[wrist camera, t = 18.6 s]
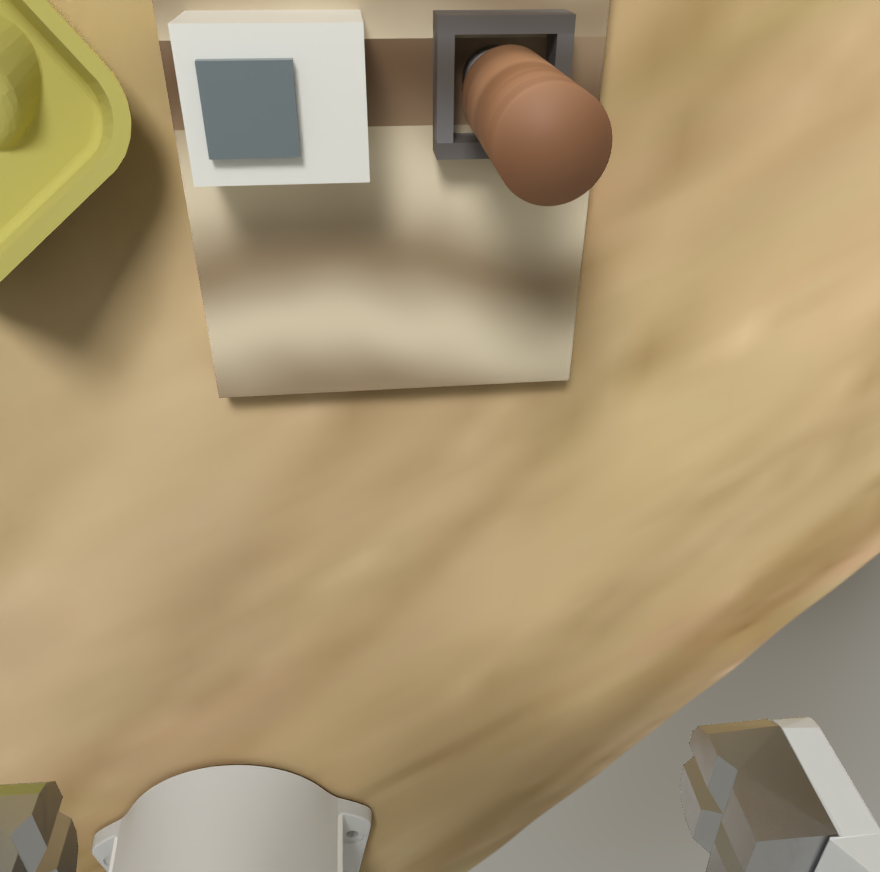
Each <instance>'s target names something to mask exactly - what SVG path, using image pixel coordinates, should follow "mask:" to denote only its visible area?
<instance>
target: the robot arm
mask: <svg viewBox="0 0 880 872" xmlns="http://www.w3.org/2000/svg"><path fill="white" fill-rule="evenodd" d="M689 744H690V747H691V749H692V752H693V754H694V757H692V758H691V759H690V760H689V761H687V762H686V763H685V764H684V765H683V769H682V774H681V779H680V788H681V789H680V790H681V802H682V806H683V811H684V815H685V819H686V822H687V824H688V827H689V830H690V833H691V835H692V838H693V839H694V840H695V841H696V842H697V843H699V844H700V845H701V846H702V847H703V848H704V849H706V850H707V851H708V852H709V853H710V858H709V861H708V865H707V868H706V872H880V827H879V825H878V824H877V822H876V820H875V819H874V817H873V815H872V814H871V812H870V810H869V809H868V807H867V805H866V804H865V802H864V800H863V799H862V797H861V796H860V794H859V792H858V790H857V789H856V787H855V786H854V784H853V782H852V781H851V779H850V777H849V775H848V774H847V772H846V771H845V769H844V767H843V766H842V764H841V762H840V761H839V759H838V757H837V755H836V754H835V752H834V751H833V749H832V747H831V746H830V744H829V742H828V741H827V739H826V737H825V736H824V734H823V732H822V731H821V729H820V727H819V726H818V724H817V723H816V722H815V721H813V720H812V719H811V718H810V717H795V718H786V719H776V720H768V719H762V720H752V721H742V722H733V723H723V724H713V725H703V726H698V727H697V728H696V729H695V730H693V732H692V735H691V739H690V742H689ZM62 798H63V796H62V794H61V792H60V790H59V788H58V786H57V784H56V782H55V781H47V782H33V783H18V784H4V785H0V872H76V867H77V857H78V841H77V832H76V829H75V826H74V823H73V821H72V818H70V817H68V816H66V815H65V814H63V813H61V812H59V808H60V805H61V801H62ZM371 819H372V811H371V810H370V808H368V807H367V806H365V805H362V804H359V803H356V802H353V801H349V800H345V799H341V798H337V797H335V796H333V795H331V794H330V793H328V792H327V791H325V790H324V789H322V788H321V787H319V786H318V785H316V784H315V783H313V782H311V781H309V780H308V779H305V778H303V777H301V776H298V775H296V774H293V773H290V772H287V771H283V770H279V769H274V768H269V767H262V766H251V765H226V766H215V767H208V768H202V769H197V770H193V771H189V772H186V773H182V774H179V775H177V776H174V777H171V778H169V779H167V780H165V781H163V782H161V783H159V784H157V785H155V786H154V787H152V788H151V789H149V790H148V791H147V792H145V793H144V794H143V795H142V796H141V797H140V798H139V799H138V800H137V801H136V802H135V803H134V805H133V806H132V807H131V809H130V810H129V811H128V813H127V814H126V815H125V816H124V817H123V818H122V819H120V820H118V821H116V822H114V823H112V824H110V825H108V826H106V827H105V828H103V829H101V830H100V831H99V832H97V833H96V834H95V836H94V839H93V846H92V854H93V855H94V857H95V858H96V859H97V860H98V862H99V863H100V864H101V865H102V866H103V868H104V869H105V870H106V871H107V872H359V870H360V866H361V862H362V858H363V855H364V851H365V847H366V843H367V840H368V836H369V832H370V829H371Z"/></svg>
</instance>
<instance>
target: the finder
mask: <svg viewBox="0 0 880 872" xmlns="http://www.w3.org/2000/svg"><path fill="white" fill-rule="evenodd" d="M168 28H169V34H170V41H171V47H172V53H173V59H174V65H175V72H176V78H177V84H178V90H179V96H180V103H181V109H182V115H183V121H184V127H185V134H186V140H187V146H188V152H189V158H190V165H191V171H192V177H193V183H194V187H207V186H246V185H285V184H323V183H362V182H370V170H369V146H368V122H367V97H366V73H365V49H364V24H363V19H362V15H361V11H360V10H193V11H184V12H182V13H181V14H180V15H178V16H177V17H176V18H175V19H173V20H172V21H171V22H169V23H168Z"/></svg>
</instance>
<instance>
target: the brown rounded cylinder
mask: <svg viewBox="0 0 880 872" xmlns="http://www.w3.org/2000/svg"><path fill="white" fill-rule="evenodd" d="M461 82H462V94H461V101H462V109H463V112H464V116H465V118H466V120H467V122H468V124H469V125H470V127H471V129H472V130H473V132H474V134H475V135H476V137H477V139H478V140H479V142H480V144H481V145H482V147H483V149H484V150H485V152H486V153H487V155H488V157H489V158H490V160H491V162H492V163H493V165H494V167H495V168H496V170H497V172H498V173H499V175H500V177H501V178H502V180H503V181H504V183H505V185H506V186H507V187H508V188H509V190H510V191H511V192H512V193H514V194H515V195H516V196H517V197H519V198H520V199H522V200H524V201H526V202H528V203H531V204H534V205H539V206H558V205H562V204H566V203H568V202H571V201H573V200H575V199H577V198H579V197H580V196H582V195H583V194H585V193H586V192H587V191H588V190H589V189H590V188H592V186H593V185H594V184H595V183H596V182H597V181H598V179H599V178H600V177H601V175H602V173H603V172H604V170H605V168H606V165H607V163H608V161H609V157H610V154H611V148H612V129H611V124H610V121H609V118H608V115H607V113H606V111H605V109H604V107H603V106H602V105H601V103H600V102H599V101H598V100H597V99H596V98H595V97H594V96H593V95H592V94H590V93H589V92H588V91H586V90H585V89H584V88H582V87H581V86H580V85H578V84H577V83H575V82H574V81H573V80H571V79H570V78H569V77H567V76H566V75H565V74H563V73H562V72H561V71H559V70H558V69H557V68H555V67H554V66H553V65H551V64H550V63H549V62H547V61H546V60H545V59H543V58H542V57H541V56H539V55H538V54H537V53H535V52H534V51H532V50H531V49H529V48H527V47H524V46H520V45H513V44H508V45H496V44H493V45H487V46H484V47H482V48H480V49H478V50H477V51H476V52H474V53H473V54H472V55H471V56H470V58H469V59H468V60H467V62H466V64H465V66H464V69H463V72H462V80H461Z"/></svg>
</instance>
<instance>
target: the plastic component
mask: <svg viewBox="0 0 880 872" xmlns="http://www.w3.org/2000/svg"><path fill="white" fill-rule="evenodd" d="M130 139H131V115H130V110H129V105H128V101H127V99H126V96H125V94H124V91H123V89H122V87H121V85H120V84H119V82H118V80H117V79H116V77H115V76H114V74H113V72H112V71H111V70H110V69H109V68H108V67H107V66H106V64H105V63H104V62H103V61H102V60H101V59H100V58H99V57H98V56H97V55H96V54H95V52H94V51H93V50H92V49H91V48H90V47H89V46H88V45H87V44H86V43H85V41H84V40H83V39H82V38H81V37H80V36H79V35H78V34H77V33H76V32H75V31H74V29H73V28H72V27H71V26H70V25H69V24H68V23H67V22H66V21H65V20H64V19H63V17H62V16H61V15H60V14H59V13H58V12H57V11H56V10H55V9H54V8H53V6H52V5H51V4H50V3H49V2H48V1H47V0H0V282H1V281H2V280H3V279H4V278H5V277H6V276H7V275H8V274H9V273H10V272H11V271H12V270H13V269H14V268H15V267H16V266H17V265H18V264H19V263H20V262H21V261H22V260H23V259H25V258H26V257H27V256H28V255H29V254H30V253H31V252H32V251H33V250H34V249H35V248H36V247H37V246H38V245H39V244H40V243H41V242H42V241H43V240H44V239H45V238H46V237H47V236H48V235H49V234H50V233H51V232H52V231H54V230H55V229H56V228H57V227H58V226H59V225H60V224H61V223H62V222H63V221H64V220H65V219H66V218H67V217H68V216H69V215H70V214H71V213H72V212H73V211H74V210H75V209H76V208H77V207H78V206H79V205H80V204H81V203H82V202H84V201H85V200H86V199H87V198H88V197H89V196H90V195H91V194H92V193H93V192H94V191H95V190H96V189H97V188H98V187H99V186H100V185H101V184H102V183H103V182H104V181H105V180H106V179H107V178H108V177H109V176H110V175H111V174H112V173H114V172H115V171H116V170H117V168H118V166H119V165H120V163H121V162H122V160H123V159H124V157H125V155H126V152H127V149H128V145H129V142H130Z"/></svg>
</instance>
